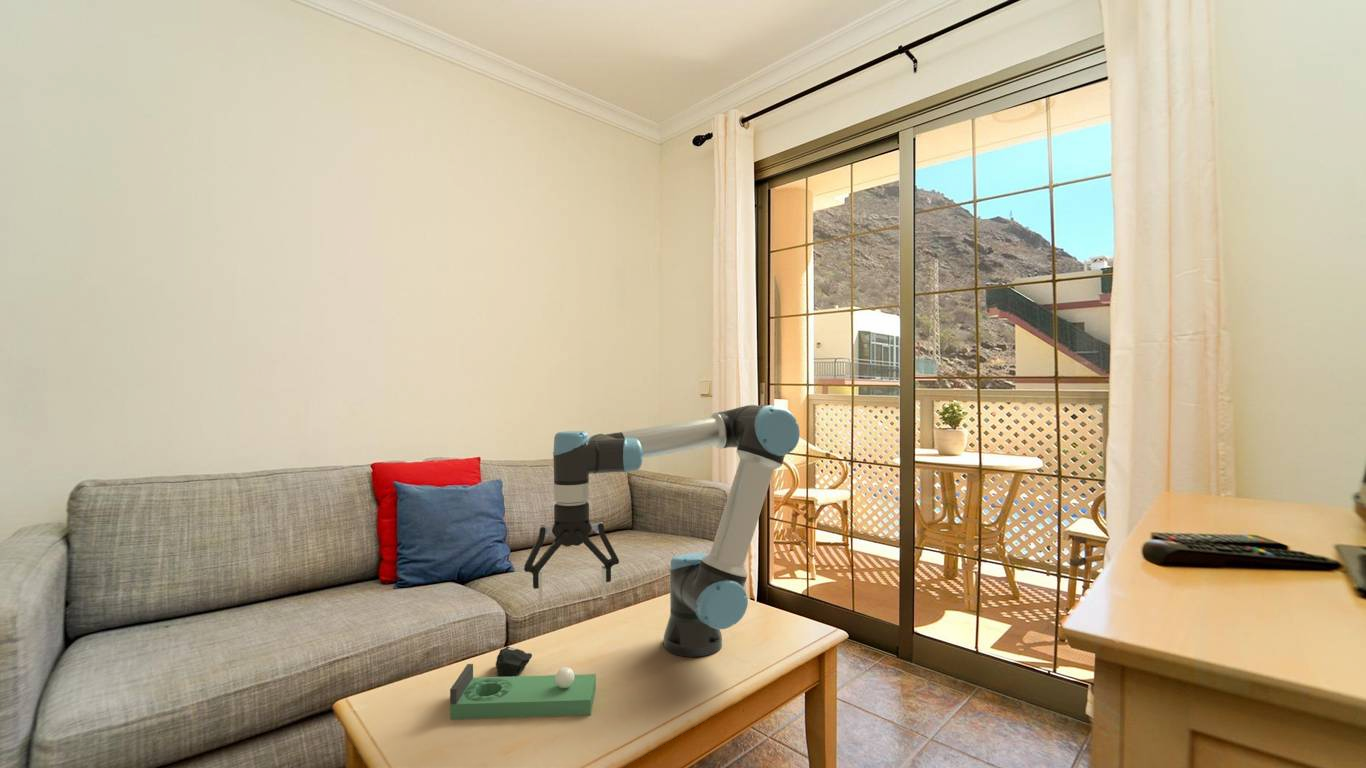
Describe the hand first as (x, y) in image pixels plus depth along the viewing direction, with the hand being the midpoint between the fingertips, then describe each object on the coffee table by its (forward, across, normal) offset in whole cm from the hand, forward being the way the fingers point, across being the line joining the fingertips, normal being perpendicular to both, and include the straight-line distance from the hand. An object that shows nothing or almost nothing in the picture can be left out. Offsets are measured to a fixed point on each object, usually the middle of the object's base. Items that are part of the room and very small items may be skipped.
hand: (572, 600), depth 128 cm
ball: (+15, +2, +3) cm, 16 cm away
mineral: (+20, +13, -13) cm, 27 cm away
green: (+20, +10, +1) cm, 22 cm away
